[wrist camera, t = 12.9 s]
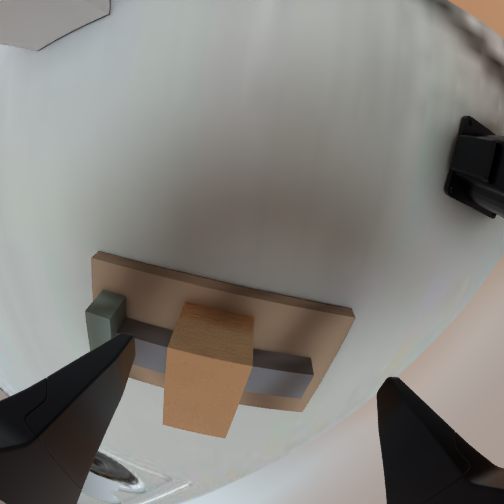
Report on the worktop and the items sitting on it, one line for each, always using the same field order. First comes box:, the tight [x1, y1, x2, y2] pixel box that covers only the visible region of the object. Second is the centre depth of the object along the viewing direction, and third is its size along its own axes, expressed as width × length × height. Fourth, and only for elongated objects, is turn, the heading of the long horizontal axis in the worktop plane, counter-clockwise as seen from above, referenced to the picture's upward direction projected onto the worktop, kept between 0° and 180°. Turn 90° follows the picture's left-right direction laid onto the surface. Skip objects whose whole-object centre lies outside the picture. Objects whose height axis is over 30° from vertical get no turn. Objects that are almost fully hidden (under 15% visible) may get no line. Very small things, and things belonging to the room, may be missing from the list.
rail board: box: [85, 252, 355, 412], centre depth 21 cm, size 20×12×4 cm, turn 76°
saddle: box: [163, 301, 254, 438], centre depth 20 cm, size 5×9×5 cm, turn 166°
